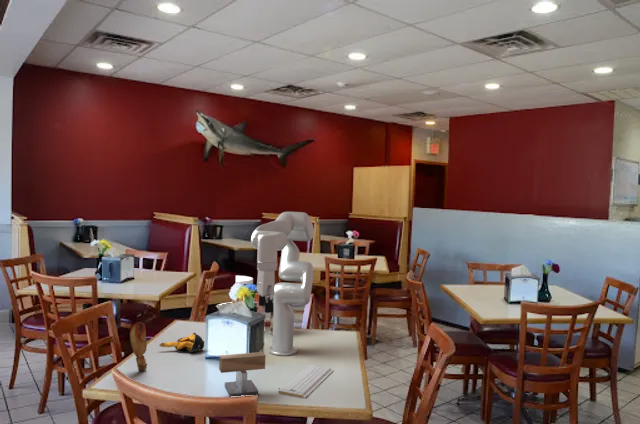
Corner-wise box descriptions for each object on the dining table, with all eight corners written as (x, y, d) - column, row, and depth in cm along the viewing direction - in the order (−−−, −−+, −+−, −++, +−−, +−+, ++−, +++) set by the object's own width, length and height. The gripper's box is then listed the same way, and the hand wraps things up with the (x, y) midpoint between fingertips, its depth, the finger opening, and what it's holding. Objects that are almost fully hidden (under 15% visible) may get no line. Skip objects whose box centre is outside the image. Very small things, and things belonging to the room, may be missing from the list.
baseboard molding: (336, 372, 209) (309, 368, 213) (337, 365, 209) (310, 361, 213) (309, 400, 180) (278, 394, 184) (309, 392, 179) (278, 386, 184)
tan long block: (219, 369, 183) (219, 355, 183) (262, 365, 189) (262, 351, 189) (221, 372, 179) (221, 358, 179) (264, 368, 185) (265, 355, 185)
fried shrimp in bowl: (207, 344, 223) (168, 334, 216) (197, 363, 226) (158, 354, 219) (207, 331, 231) (168, 321, 224) (197, 349, 234) (159, 340, 227)
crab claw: (127, 372, 197) (128, 322, 197) (134, 368, 202) (135, 318, 202) (144, 374, 196) (145, 323, 196) (150, 370, 201) (152, 320, 201)
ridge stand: (224, 386, 188) (225, 365, 187) (251, 383, 191) (251, 362, 191) (230, 398, 178) (231, 375, 177) (258, 395, 181) (259, 373, 181)
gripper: (252, 262, 203) (251, 303, 205) (263, 270, 187) (261, 315, 189) (270, 261, 206) (269, 302, 207) (282, 269, 190) (281, 314, 191)
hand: (265, 308), depth 198 cm, fingers open, 9 cm apart
